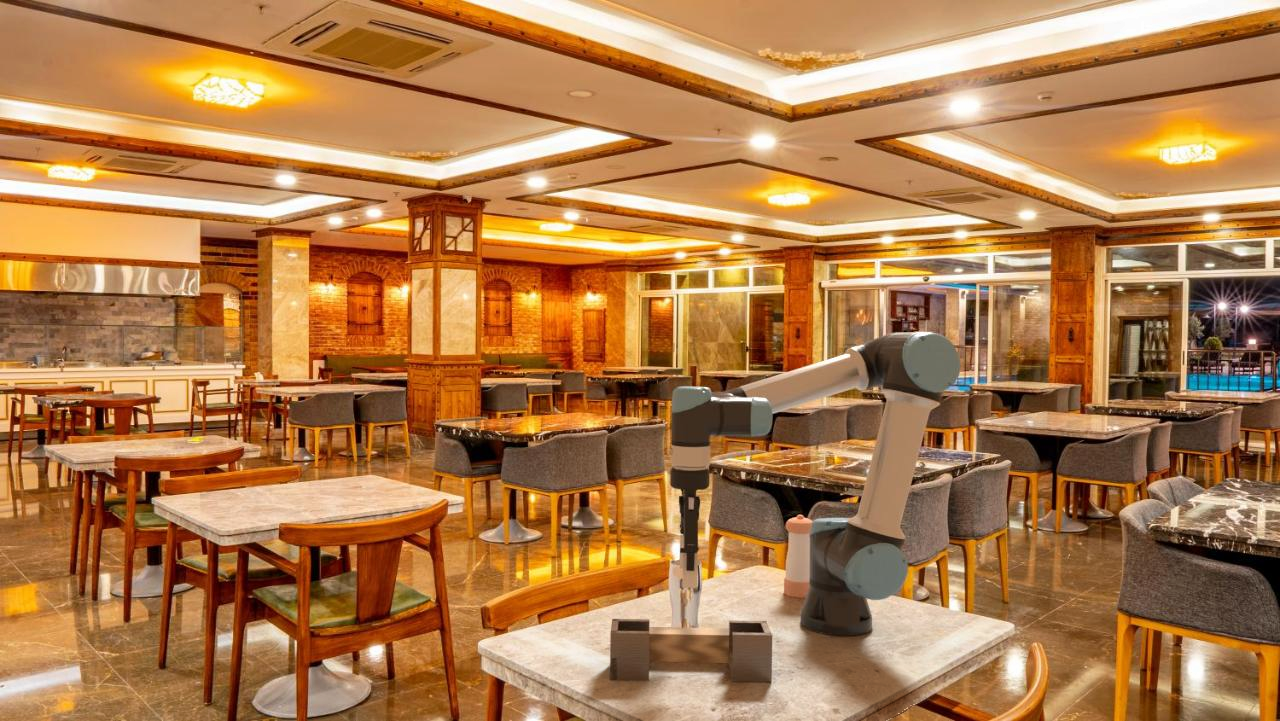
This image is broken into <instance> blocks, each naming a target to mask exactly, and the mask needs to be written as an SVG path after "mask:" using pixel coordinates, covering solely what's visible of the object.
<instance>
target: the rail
mask: <svg viewBox="0 0 1280 721" xmlns="http://www.w3.org/2000/svg"><path fill="white" fill-rule="evenodd" d="M649 631H650V635H649V662H669V663H670V662H676V663H682V662H683V663H720V664H721V663H723V664H724V663H727V664H728V663H729V627H728V628H726V627H699V628H679V627H671V626H670V627H668V626H665V627H664V626H649Z"/></svg>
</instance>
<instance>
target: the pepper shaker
mask: <svg viewBox="0 0 1280 721" xmlns="http://www.w3.org/2000/svg"><path fill="white" fill-rule="evenodd" d="M813 521H814V520H812V519H810V518H808V517H807V518H806V517H805V516H804V515H803V514H797V515H796V517H792V518H789V519H788V520H787V521H786V522H785V525H784V526H785V529H786V531H788V544H787V546H788V548H787V556H786V561H785V576H784V579H783V594H784V595H786V596H788V597H792V598H798V599H799V598H801V599H805V598H806V595H807V592H808V589H809V579H810V577H809V573H810V537H809V534H810V528H811V523H812V522H813Z"/></svg>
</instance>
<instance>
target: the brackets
mask: <svg viewBox="0 0 1280 721" xmlns="http://www.w3.org/2000/svg"><path fill="white" fill-rule="evenodd" d="M649 627H650V619H647V618H645V619H643V618H641V619H639V618H638V619H637V618H611V627H610V635H609V637H610V644H609V645H610V649H609V650H610V652H609V654H610V655H609V660H610V661H609V680H610V681H650V661H649V635H650V631H649ZM728 628H729V663H727V664H728V668H729V674H730V677H731V681H732V682H733V683H739V682H740V683H772V682H773V681H772V680H773V679H772V677H773V676H772V674H773V670H772V669H773V634H772V631H771V629H770V626H769V624H768V621H767V620H728Z"/></svg>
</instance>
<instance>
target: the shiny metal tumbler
mask: <svg viewBox="0 0 1280 721" xmlns="http://www.w3.org/2000/svg"><path fill="white" fill-rule="evenodd" d="M702 569H703V568H702V561H700V560H699V559H698V563H697V588H682V570H683V568H680V557H679V558H674V559H671V560H670V561H669V569H668V570H669V571H668V593H669V600H670V605H671V615H672V616H671V617H672V618H671V619H672V620H671V625H670V627H679V628H700V627H699V620H698V619H699V618H698V617H699V616H698V615H699V609H700V608H699V607H700V604H701V597H702V592H703V591H702V590H703V571H702Z"/></svg>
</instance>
